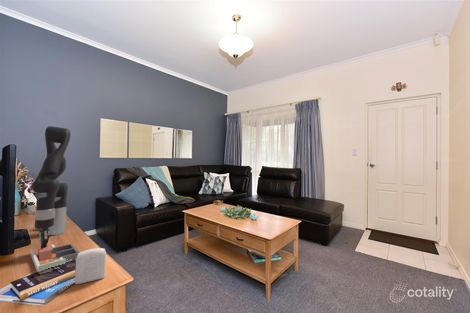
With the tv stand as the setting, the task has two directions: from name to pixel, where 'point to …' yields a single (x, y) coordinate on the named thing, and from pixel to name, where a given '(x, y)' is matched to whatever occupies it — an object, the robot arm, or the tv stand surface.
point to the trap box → (61, 252)
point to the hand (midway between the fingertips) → (43, 251)
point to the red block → (44, 253)
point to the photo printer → (90, 265)
